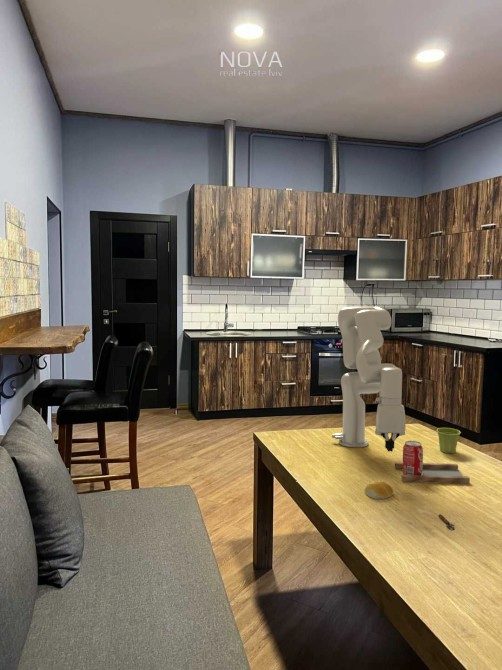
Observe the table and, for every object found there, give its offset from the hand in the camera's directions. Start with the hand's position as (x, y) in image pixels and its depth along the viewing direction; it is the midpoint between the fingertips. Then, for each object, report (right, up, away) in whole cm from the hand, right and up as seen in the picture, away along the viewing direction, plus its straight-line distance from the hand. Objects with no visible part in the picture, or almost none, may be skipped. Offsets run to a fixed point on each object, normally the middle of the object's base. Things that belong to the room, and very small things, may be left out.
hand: (389, 450), depth 187 cm
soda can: (+8, -9, 0) cm, 13 cm away
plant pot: (+31, -7, +27) cm, 42 cm away
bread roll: (-8, -11, -17) cm, 22 cm away
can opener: (+6, -14, -37) cm, 40 cm away
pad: (+19, -9, -1) cm, 21 cm away
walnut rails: (+15, -9, 0) cm, 17 cm away
